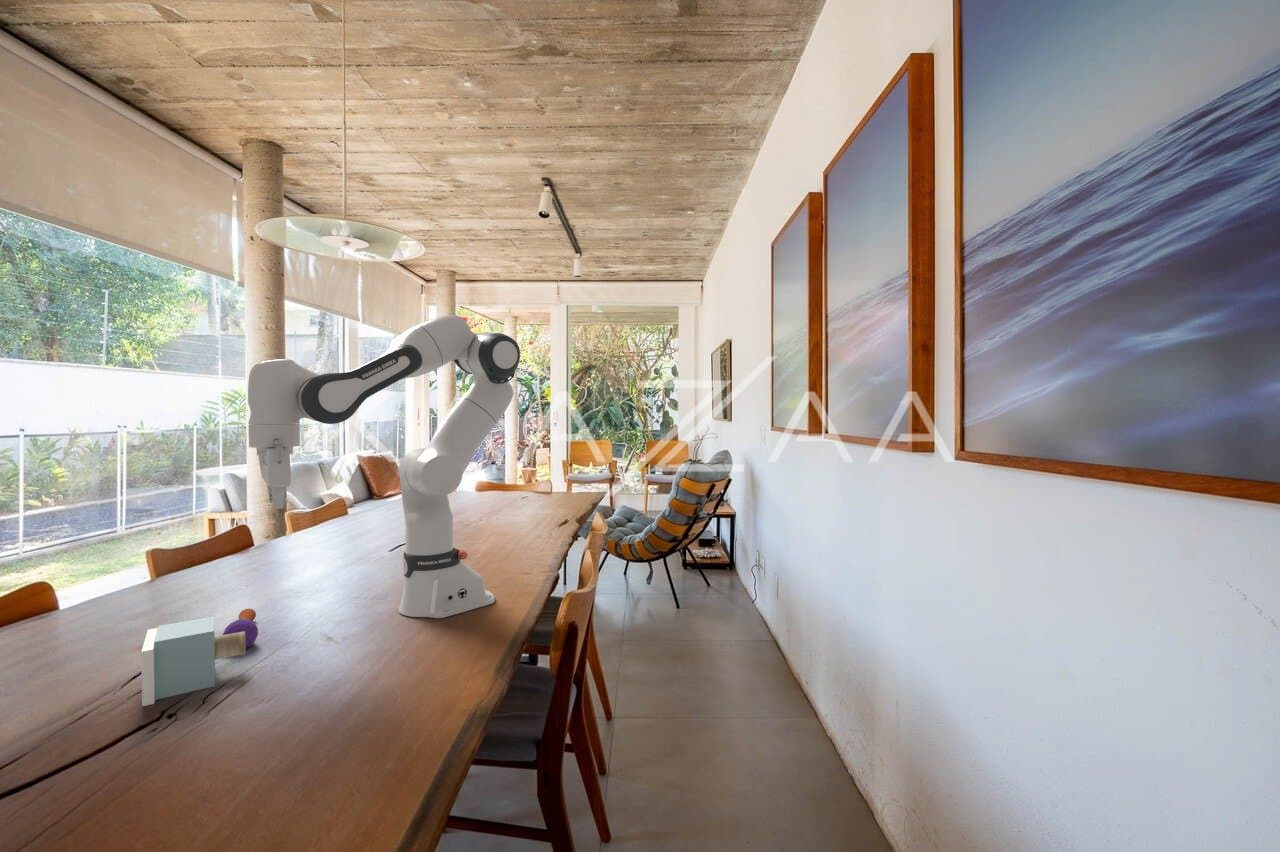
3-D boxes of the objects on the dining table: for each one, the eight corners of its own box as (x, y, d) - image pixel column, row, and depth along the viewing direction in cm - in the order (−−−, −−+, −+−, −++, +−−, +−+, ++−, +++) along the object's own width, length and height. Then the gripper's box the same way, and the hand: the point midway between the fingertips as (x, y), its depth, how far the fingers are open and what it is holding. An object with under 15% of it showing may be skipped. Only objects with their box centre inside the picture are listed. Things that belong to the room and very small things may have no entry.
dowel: (244, 648, 107) (244, 627, 107) (245, 657, 104) (245, 635, 104) (176, 662, 101) (176, 639, 101) (175, 671, 98) (175, 648, 98)
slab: (159, 676, 103) (158, 627, 103) (154, 703, 93) (153, 649, 93) (148, 679, 102) (147, 629, 102) (142, 706, 92) (141, 651, 92)
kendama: (265, 602, 132) (260, 623, 115) (259, 629, 131) (253, 653, 114) (234, 602, 129) (224, 622, 112) (228, 629, 128) (217, 654, 111)
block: (214, 667, 107) (214, 616, 106) (215, 686, 99) (214, 630, 99) (159, 679, 102) (158, 626, 102) (155, 699, 95) (154, 642, 94)
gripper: (298, 439, 110) (300, 510, 110) (287, 436, 126) (288, 498, 127) (259, 440, 106) (261, 514, 106) (253, 437, 123) (254, 501, 123)
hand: (276, 505), depth 117 cm, fingers open, 8 cm apart
